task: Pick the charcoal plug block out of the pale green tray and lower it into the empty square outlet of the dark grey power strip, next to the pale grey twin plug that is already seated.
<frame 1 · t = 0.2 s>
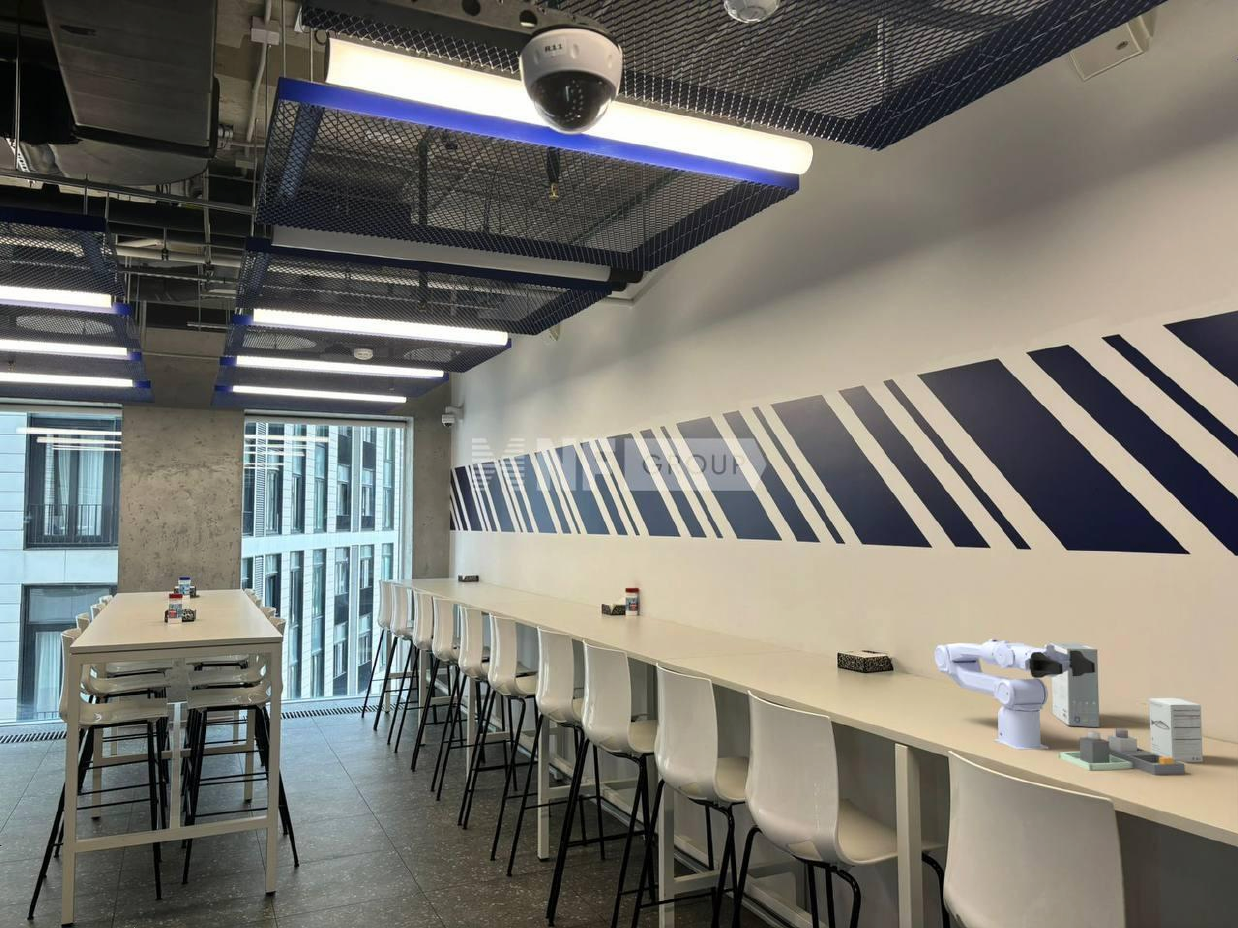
hand: (1077, 668, 189), 21 cm above the table, tool horizontal, fingers open, 7 cm apart
hard drive box: (1075, 721, 234), on the table
twin plug: (1122, 759, 196), resting in power strip
tray: (1095, 765, 191), on the table
supplement box: (1176, 759, 197), on the table
plug: (1094, 762, 191), resting on tray
power strip: (1137, 764, 191), on the table
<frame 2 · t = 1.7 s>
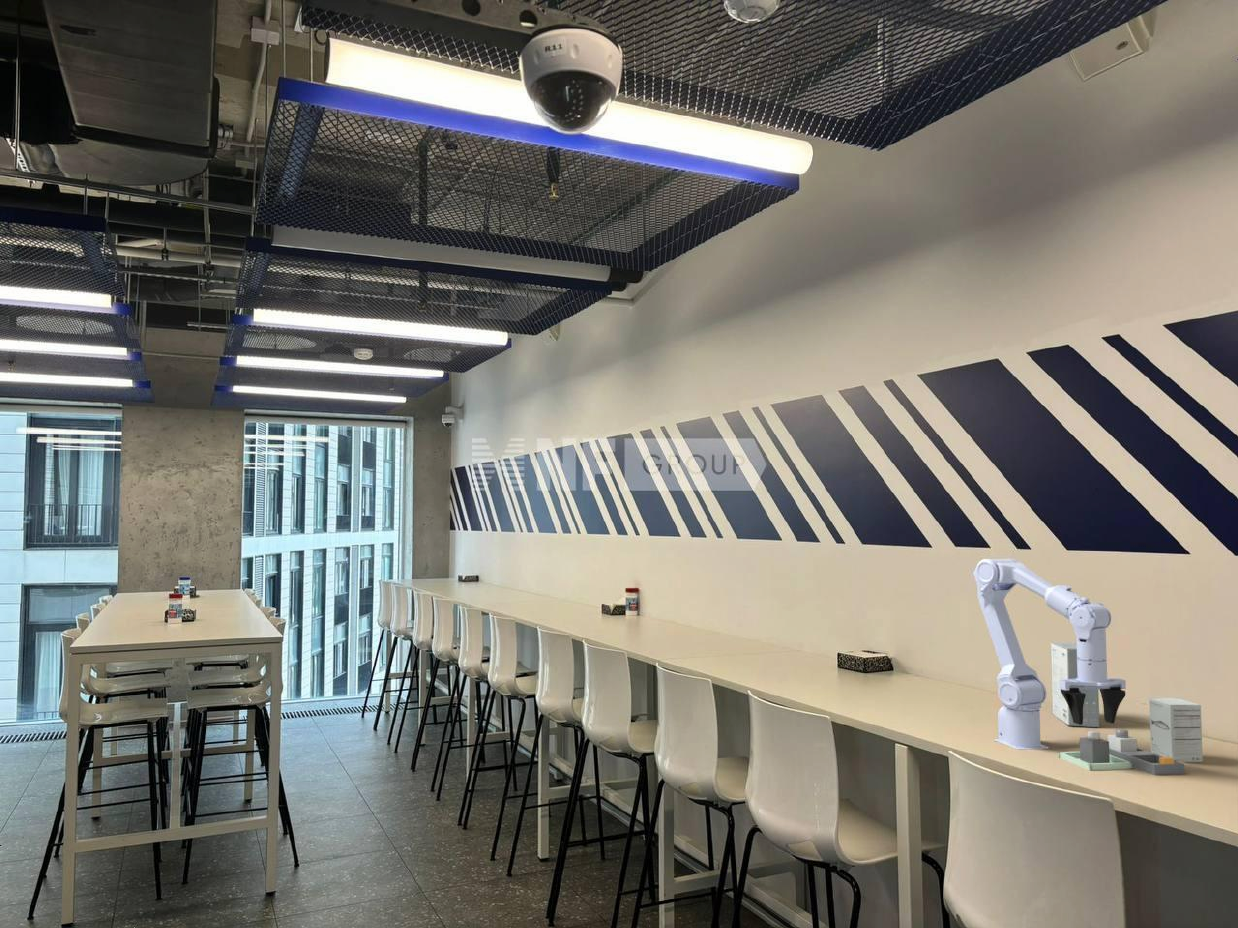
hand: (1093, 723, 191), 9 cm above the table, tool pointing down, fingers open, 7 cm apart
nothing on the table moved.
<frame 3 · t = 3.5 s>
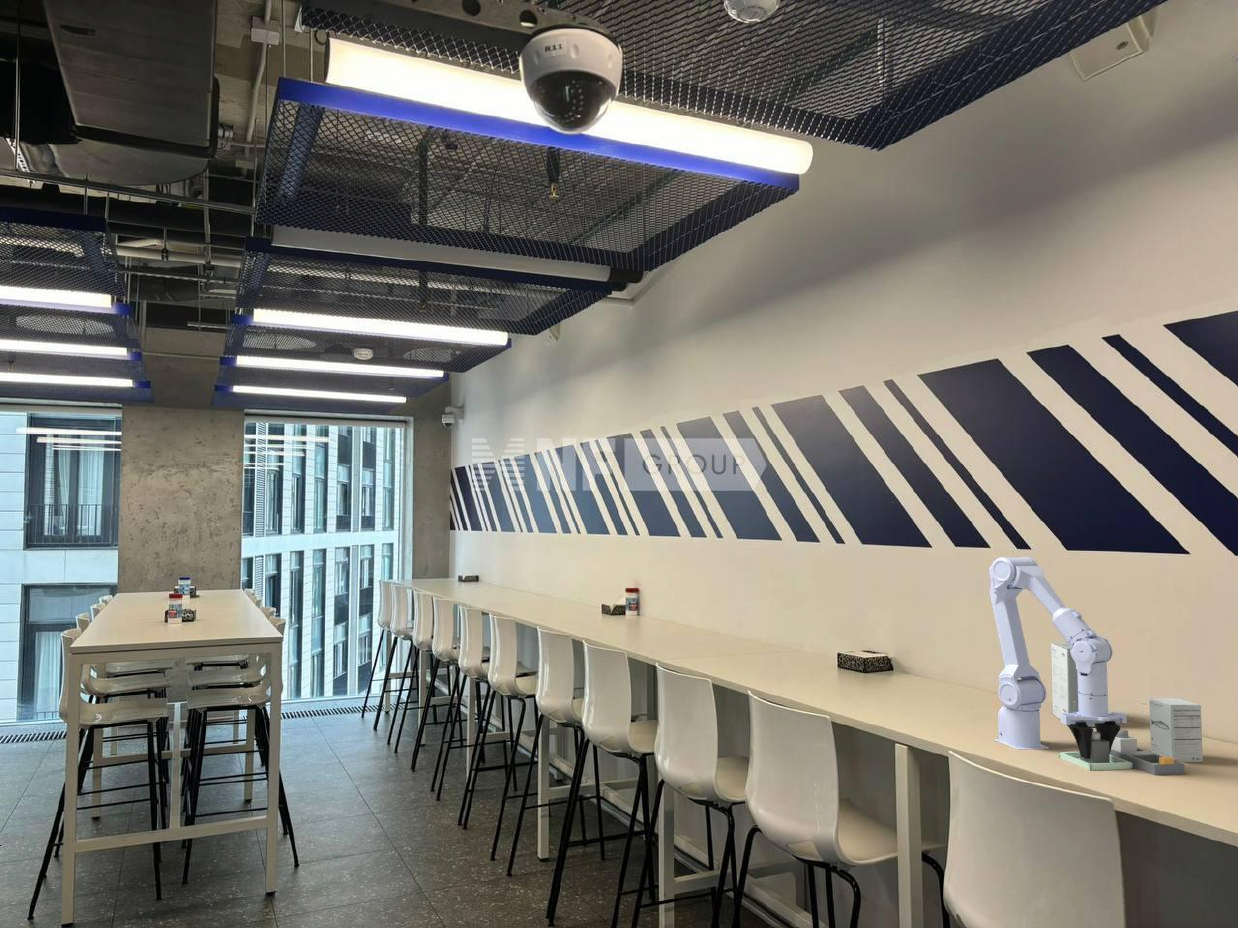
hand: (1094, 757, 191), 2 cm above the table, tool pointing down, fingers closed on plug, 4 cm apart
plug: (1094, 762, 191), resting on tray, touching gripper
everything else where it was.
when the fingers open (3 cm above the table, at t = 6.9 s): plug drops 1 cm, resting in power strip.
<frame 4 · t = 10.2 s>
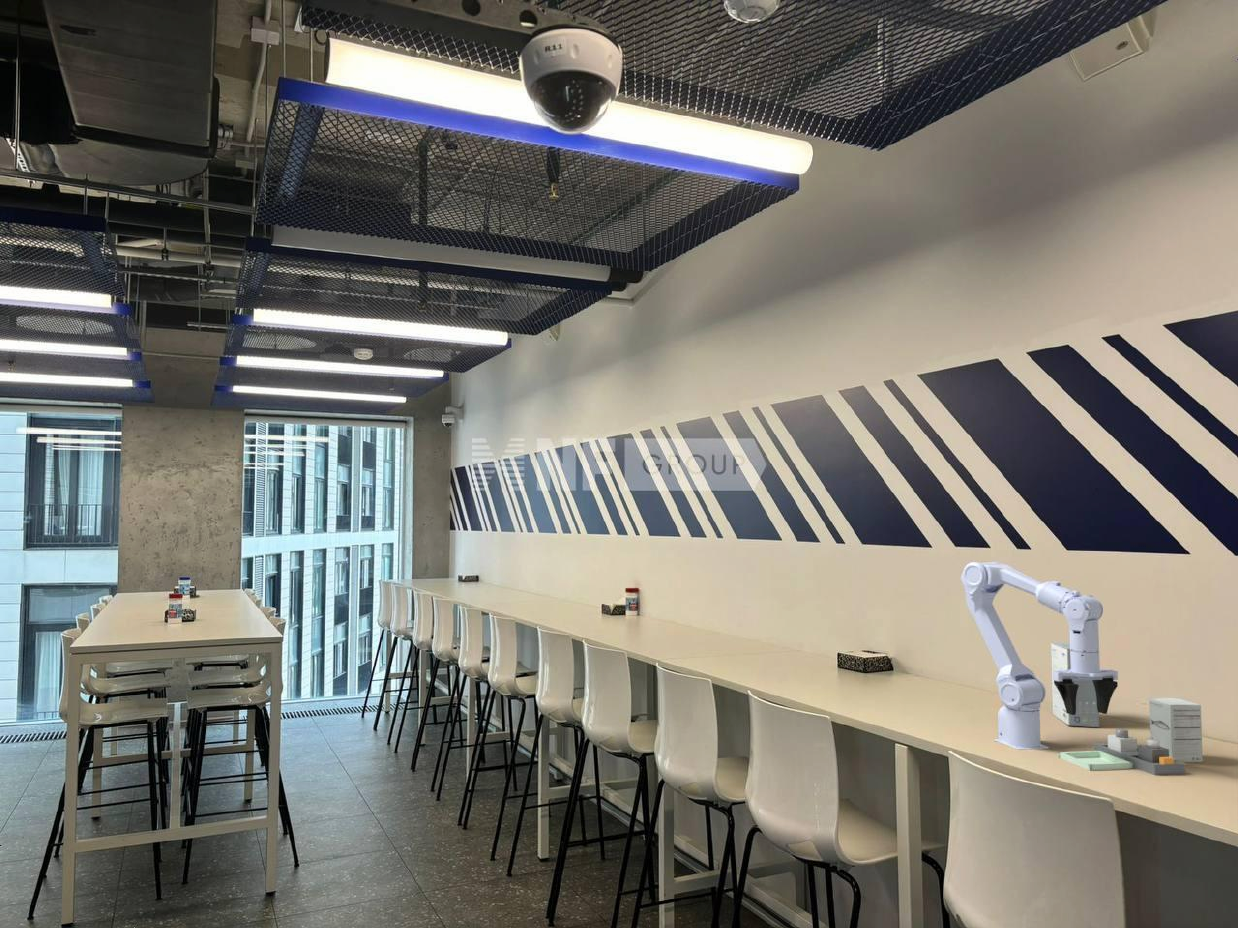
hand: (1086, 713, 194), 10 cm above the table, tool pointing down, fingers open, 7 cm apart
plug: (1154, 771, 186), resting in power strip
everything else where it was.
at the end: plug 0.2 cm from the target spot on the power strip, point 0.0 cm above the power strip's base; plug tilted 0°; the gripper is holding nothing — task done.
